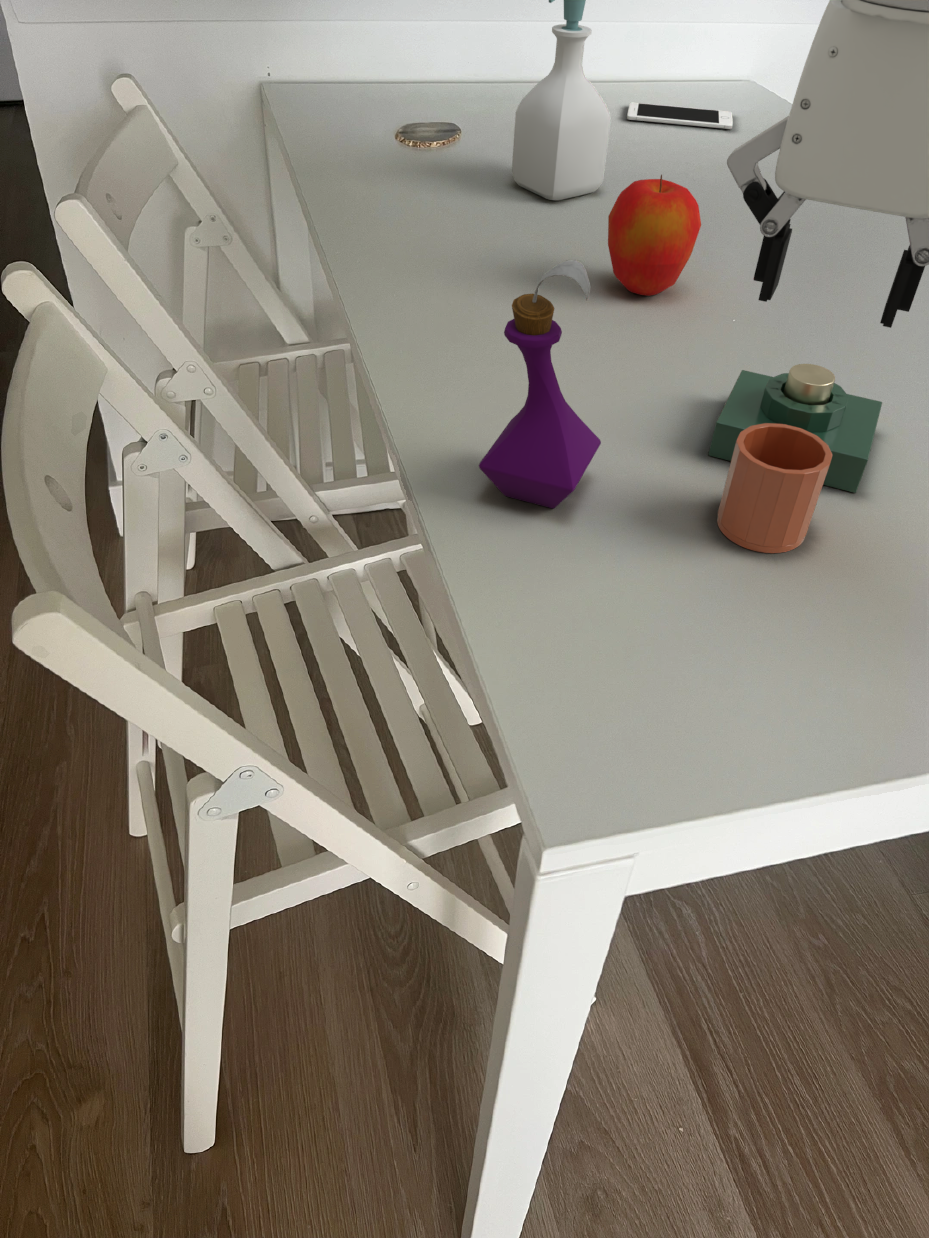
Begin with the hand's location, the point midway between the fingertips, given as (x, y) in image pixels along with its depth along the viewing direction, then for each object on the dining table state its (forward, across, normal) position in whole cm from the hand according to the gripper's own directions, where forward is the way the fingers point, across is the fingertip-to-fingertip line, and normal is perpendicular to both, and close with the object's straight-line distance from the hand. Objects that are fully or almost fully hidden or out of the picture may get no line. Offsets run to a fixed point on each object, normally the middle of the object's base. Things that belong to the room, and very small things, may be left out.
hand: (827, 303), depth 63 cm
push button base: (+18, 0, -13) cm, 22 cm away
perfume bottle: (+18, +17, +3) cm, 25 cm away
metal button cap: (+13, 0, -13) cm, 18 cm away
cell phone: (+18, +33, -102) cm, 109 cm away
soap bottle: (+18, +39, -62) cm, 75 cm away
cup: (+18, 0, 0) cm, 18 cm away
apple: (+18, +20, -37) cm, 46 cm away
